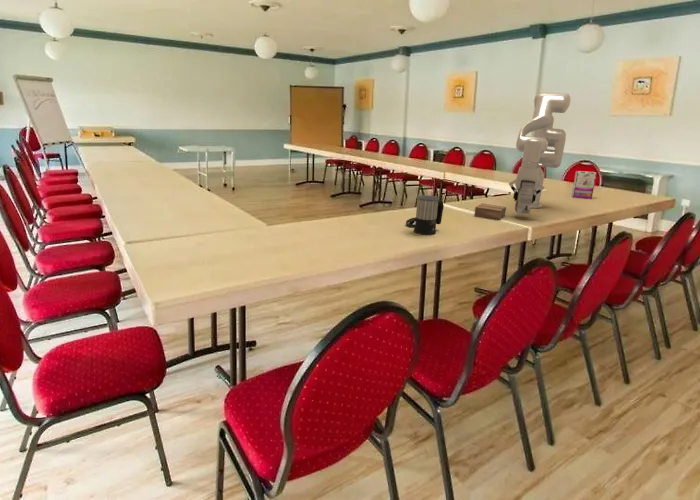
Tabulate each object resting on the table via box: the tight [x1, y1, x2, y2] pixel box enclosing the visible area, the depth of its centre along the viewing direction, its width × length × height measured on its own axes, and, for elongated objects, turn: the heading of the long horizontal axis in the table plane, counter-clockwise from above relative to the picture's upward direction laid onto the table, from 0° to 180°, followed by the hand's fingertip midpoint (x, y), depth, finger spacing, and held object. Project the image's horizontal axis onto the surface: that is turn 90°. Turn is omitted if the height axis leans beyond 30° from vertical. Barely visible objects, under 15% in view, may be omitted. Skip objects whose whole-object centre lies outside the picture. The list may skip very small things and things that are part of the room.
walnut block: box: [473, 203, 507, 221], centre depth 232 cm, size 12×12×5 cm
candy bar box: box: [571, 170, 598, 200], centre depth 296 cm, size 11×5×16 cm, turn 81°
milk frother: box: [405, 194, 445, 235], centre depth 199 cm, size 14×16×15 cm
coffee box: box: [514, 180, 535, 216], centre depth 230 cm, size 9×6×16 cm
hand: (523, 201), depth 231 cm, fingers closed on coffee box, 7 cm apart
